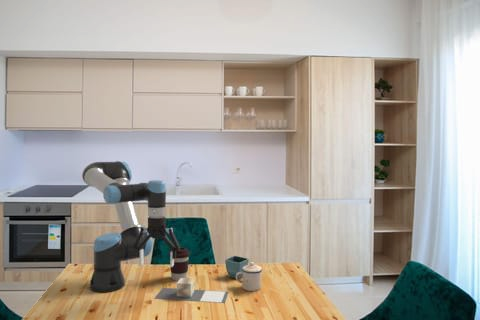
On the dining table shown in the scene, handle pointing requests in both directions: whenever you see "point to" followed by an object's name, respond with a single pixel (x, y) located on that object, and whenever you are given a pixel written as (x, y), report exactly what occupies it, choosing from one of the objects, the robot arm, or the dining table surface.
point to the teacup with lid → (251, 277)
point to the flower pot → (235, 265)
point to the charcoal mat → (194, 295)
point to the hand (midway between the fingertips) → (156, 265)
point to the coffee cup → (180, 264)
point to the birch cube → (185, 287)
